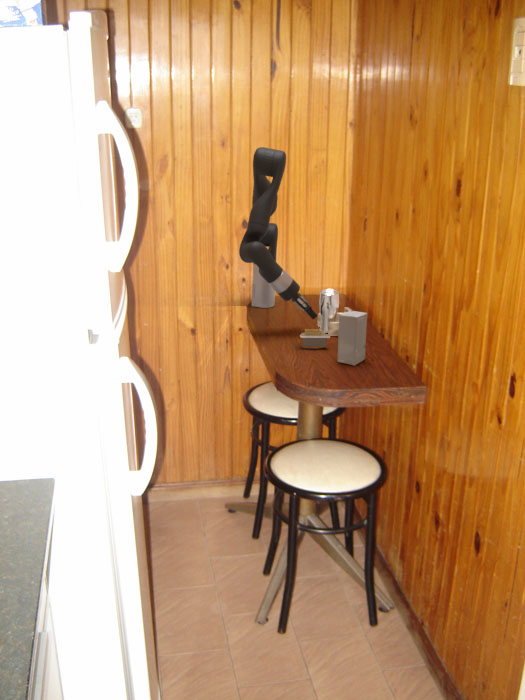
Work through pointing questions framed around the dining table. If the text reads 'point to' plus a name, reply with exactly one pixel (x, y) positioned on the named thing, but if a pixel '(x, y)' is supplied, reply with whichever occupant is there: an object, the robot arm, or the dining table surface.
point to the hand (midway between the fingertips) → (315, 317)
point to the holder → (333, 323)
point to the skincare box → (352, 337)
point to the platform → (314, 338)
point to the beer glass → (328, 307)
